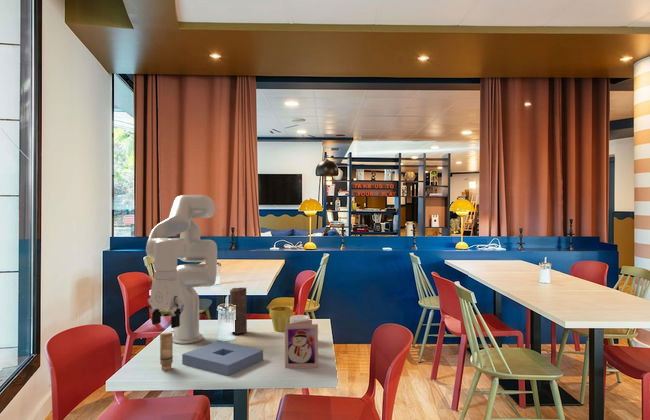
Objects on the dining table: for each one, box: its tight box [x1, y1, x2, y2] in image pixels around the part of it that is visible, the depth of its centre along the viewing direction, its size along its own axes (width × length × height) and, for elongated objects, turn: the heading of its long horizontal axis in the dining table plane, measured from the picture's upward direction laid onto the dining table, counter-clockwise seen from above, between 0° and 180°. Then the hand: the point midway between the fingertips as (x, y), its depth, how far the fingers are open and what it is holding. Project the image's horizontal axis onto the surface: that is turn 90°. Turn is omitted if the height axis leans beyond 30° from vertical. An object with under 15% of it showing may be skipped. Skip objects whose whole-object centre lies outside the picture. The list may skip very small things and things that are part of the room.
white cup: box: [290, 314, 310, 324], centre depth 184 cm, size 8×8×10 cm
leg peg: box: [159, 331, 174, 371], centre depth 153 cm, size 4×4×12 cm
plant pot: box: [269, 305, 294, 333], centre depth 201 cm, size 10×10×10 cm
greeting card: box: [284, 319, 319, 369], centre depth 156 cm, size 11×7×15 cm, turn 91°
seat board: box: [181, 340, 264, 377], centre depth 160 cm, size 22×18×4 cm
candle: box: [229, 287, 248, 334], centre depth 196 cm, size 8×7×20 cm
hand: (165, 325), depth 152 cm, fingers open, 9 cm apart
